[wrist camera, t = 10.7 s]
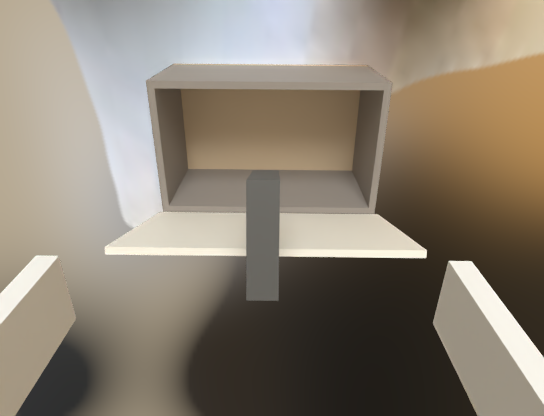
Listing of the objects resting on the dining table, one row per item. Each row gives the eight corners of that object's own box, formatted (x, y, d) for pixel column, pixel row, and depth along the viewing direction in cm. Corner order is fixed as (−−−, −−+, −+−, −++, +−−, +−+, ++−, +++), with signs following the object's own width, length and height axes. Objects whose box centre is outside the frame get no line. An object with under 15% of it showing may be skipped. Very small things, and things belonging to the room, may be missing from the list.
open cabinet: (184, 171, 47) (163, 211, 38) (173, 63, 42) (145, 80, 33) (355, 173, 47) (374, 213, 38) (367, 65, 42) (392, 82, 33)
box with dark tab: (157, 158, 37) (160, 222, 38) (45, 178, 19) (55, 298, 20) (380, 160, 37) (377, 224, 38) (482, 182, 19) (470, 303, 20)
